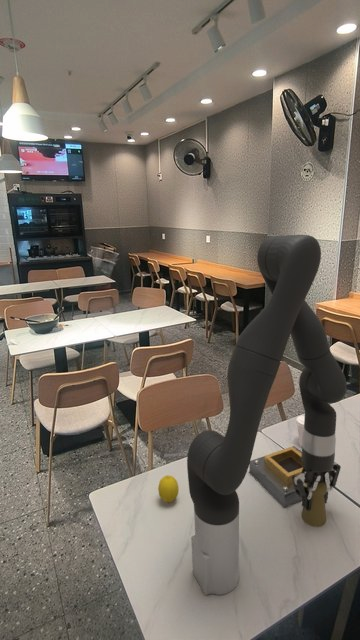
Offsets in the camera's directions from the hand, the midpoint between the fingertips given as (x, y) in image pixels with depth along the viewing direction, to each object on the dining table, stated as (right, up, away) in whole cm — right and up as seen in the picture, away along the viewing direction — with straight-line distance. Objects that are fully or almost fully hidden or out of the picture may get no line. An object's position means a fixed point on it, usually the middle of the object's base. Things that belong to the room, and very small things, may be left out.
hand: (314, 504), depth 93 cm
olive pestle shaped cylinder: (0, -4, +1) cm, 4 cm away
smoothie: (+8, +4, +31) cm, 32 cm away
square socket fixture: (-2, 0, +15) cm, 15 cm away
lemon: (-37, -4, +9) cm, 38 cm away
